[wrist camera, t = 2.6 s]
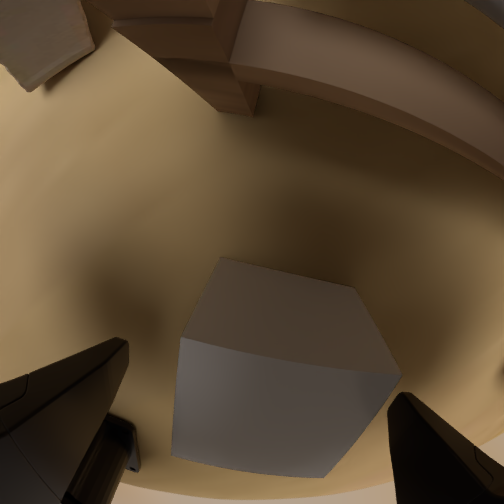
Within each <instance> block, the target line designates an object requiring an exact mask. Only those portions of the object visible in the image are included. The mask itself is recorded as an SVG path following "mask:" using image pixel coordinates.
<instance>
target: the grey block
mask: <svg viewBox="0 0 504 504" xmlns="http://www.w3.org/2000/svg"><path fill="white" fill-rule="evenodd" d="M93 50H95V45H94V42H93V40H92V36H91V34H90V31H89V27H88V23H87V18H86V15H85V13H84V11H83V8H82V5H81V1H80V0H0V64H2V65H4V66H5V68H6V70H7V71H8V72H9V73H10V74H11V75H12V76H13V77H14V78H15V79H16V81H17V82H18V83H19V84H20V86H21V87H22V88H24V89H25V90H26V91H27V92H32V91H33V90H35V89H36V88H37V87H39V86H40V85H41V84H43V83H44V82H45V81H47V80H48V79H50V78H51V77H52V76H54V75H55V74H57V73H58V72H60V71H61V70H63V69H64V68H66V67H67V66H68V65H70V64H71V63H73V62H75V61H77V60H78V59H80V58H81V57H83V56H85V55H86V54H88V53H90V52H92V51H93Z"/></svg>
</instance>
